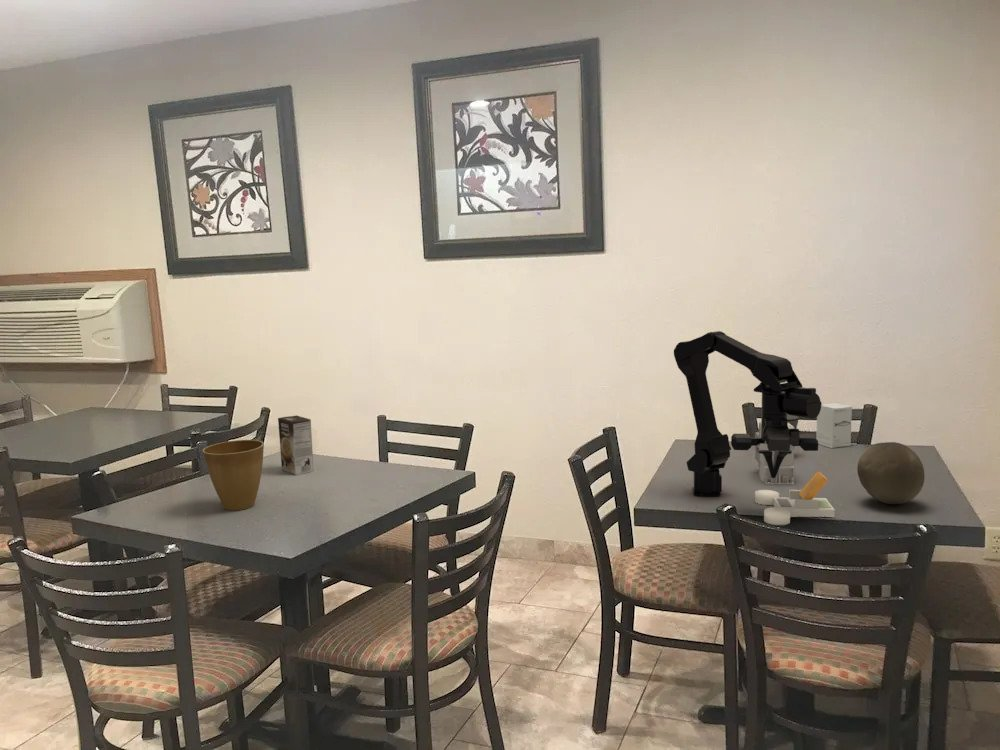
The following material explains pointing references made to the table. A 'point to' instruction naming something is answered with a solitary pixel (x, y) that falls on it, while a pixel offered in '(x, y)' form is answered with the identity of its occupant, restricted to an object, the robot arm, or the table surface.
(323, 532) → the table surface
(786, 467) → the circuit breaker
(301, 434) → the coffee box
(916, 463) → the cantaloupe
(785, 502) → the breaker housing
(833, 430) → the supplement box
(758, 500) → the cream dome knob
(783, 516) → the cream round disc
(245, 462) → the plant pot
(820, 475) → the long orange brick
